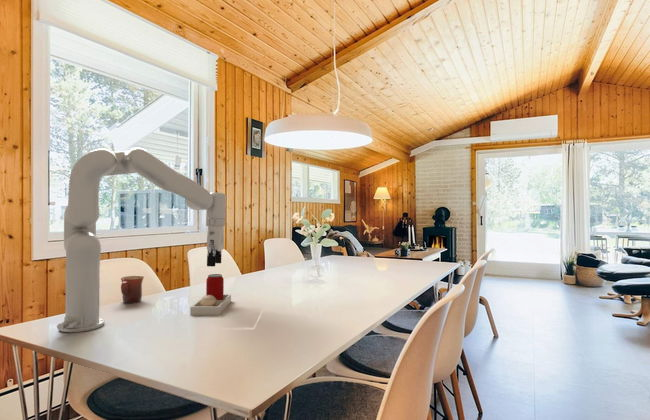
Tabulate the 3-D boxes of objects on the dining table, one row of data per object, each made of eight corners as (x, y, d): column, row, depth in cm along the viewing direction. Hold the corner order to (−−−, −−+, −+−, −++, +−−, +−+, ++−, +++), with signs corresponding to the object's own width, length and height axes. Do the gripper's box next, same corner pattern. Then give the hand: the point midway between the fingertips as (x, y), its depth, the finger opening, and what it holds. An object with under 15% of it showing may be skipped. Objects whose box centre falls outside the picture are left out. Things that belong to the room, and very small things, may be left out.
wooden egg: (214, 313, 140) (214, 297, 140) (198, 313, 140) (198, 297, 140) (218, 308, 146) (218, 293, 146) (203, 308, 146) (203, 293, 146)
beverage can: (225, 302, 156) (226, 273, 156) (219, 306, 149) (219, 276, 149) (210, 302, 157) (210, 273, 157) (203, 306, 150) (203, 276, 150)
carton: (219, 316, 138) (219, 306, 138) (190, 316, 138) (190, 307, 138) (231, 302, 158) (231, 294, 158) (205, 302, 158) (205, 294, 158)
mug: (127, 299, 164) (127, 275, 164) (147, 299, 163) (147, 275, 163) (111, 306, 152) (111, 280, 152) (132, 306, 151) (133, 280, 151)
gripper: (219, 223, 144) (218, 267, 144) (229, 222, 162) (228, 262, 161) (200, 222, 144) (198, 267, 144) (211, 222, 161) (210, 261, 161)
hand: (214, 264), depth 152 cm, fingers open, 9 cm apart
